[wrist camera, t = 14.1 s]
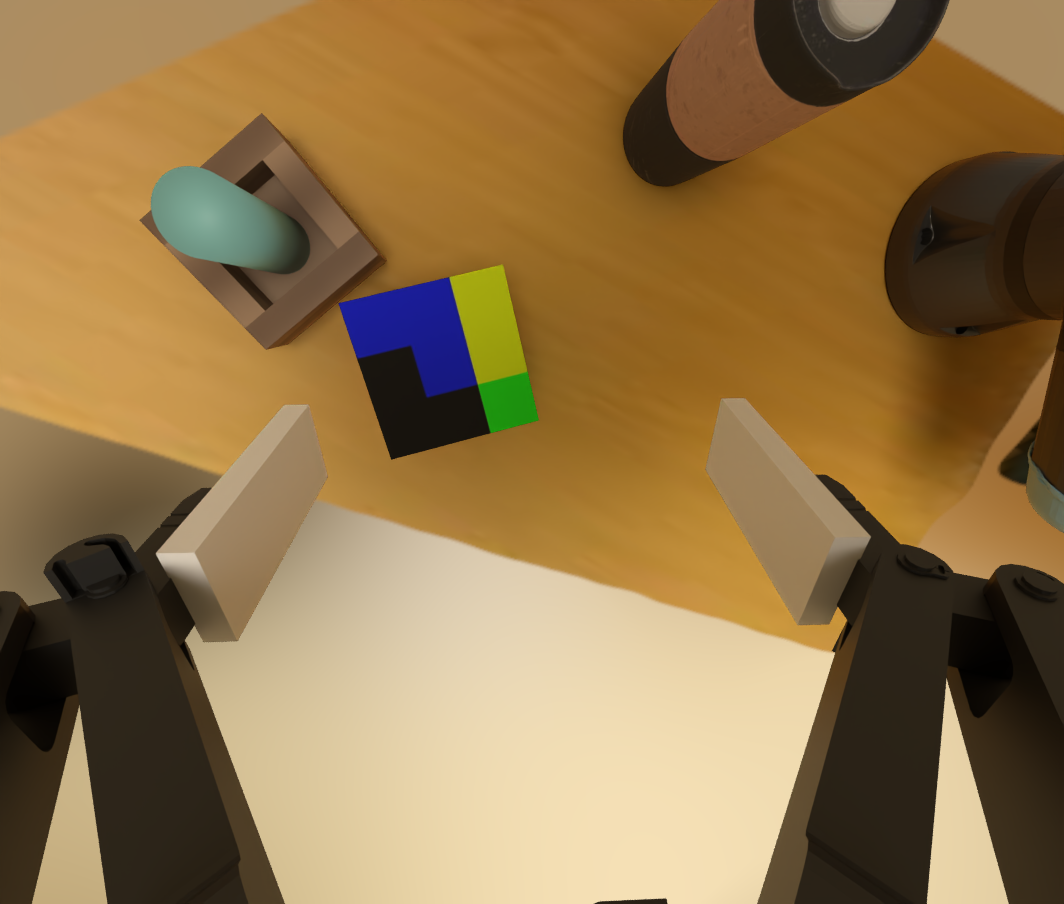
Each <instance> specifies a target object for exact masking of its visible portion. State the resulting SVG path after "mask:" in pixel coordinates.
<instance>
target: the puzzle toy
mask: <svg viewBox="0 0 1064 904" xmlns="http://www.w3.org/2000/svg"><path fill="white" fill-rule="evenodd" d="M338 304H339V306H340V309H341V312H342V315H343V318H344V321H345V324H346V327H347V330H348V333H349V336H350V339H351V342H352V345H353V348H354V351H355V354H356V357H357V360H358V363H359V366H360V369H361V371H362V374H363V377H364V380H365V383H366V386H367V389H368V392H369V395H370V398H371V401H372V404H373V407H374V410H375V413H376V416H377V419H378V422H379V425H380V428H381V431H382V434H383V436H384V439H385V442H386V445H387V448H388V451H389V454H390V457H391V460H392V459H395V458H399V457H403V456H407V455H410V454H414V453H418V452H422V451H426V450H429V449H433V448H437V447H441V446H444V445H448V444H452V443H456V442H459V441H463V440H467V439H471V438H474V437H478V436H482V435H486V434H489V433H493V432H497V431H501V430H504V429H508V428H512V427H516V426H519V425H523V424H527V423H531V422H534V421H538V420H539V419H538V414H537V410H536V406H535V401H534V397H533V393H532V388H531V384H530V380H529V376H528V371H527V367H526V363H525V358H524V354H523V350H522V345H521V341H520V337H519V332H518V328H517V324H516V319H515V315H514V311H513V306H512V302H511V298H510V293H509V289H508V285H507V280H506V276H505V272H504V267H503V265H499V266H494V267H490V268H486V269H482V270H477V271H473V272H469V273H465V274H460V275H456V276H452V277H448V278H444V279H439V280H435V281H431V282H427V283H422V284H418V285H414V286H410V287H405V288H401V289H397V290H393V291H388V292H384V293H380V294H376V295H371V296H367V297H363V298H359V299H355V300H350V301H346V302H342V303H338Z"/></svg>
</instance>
